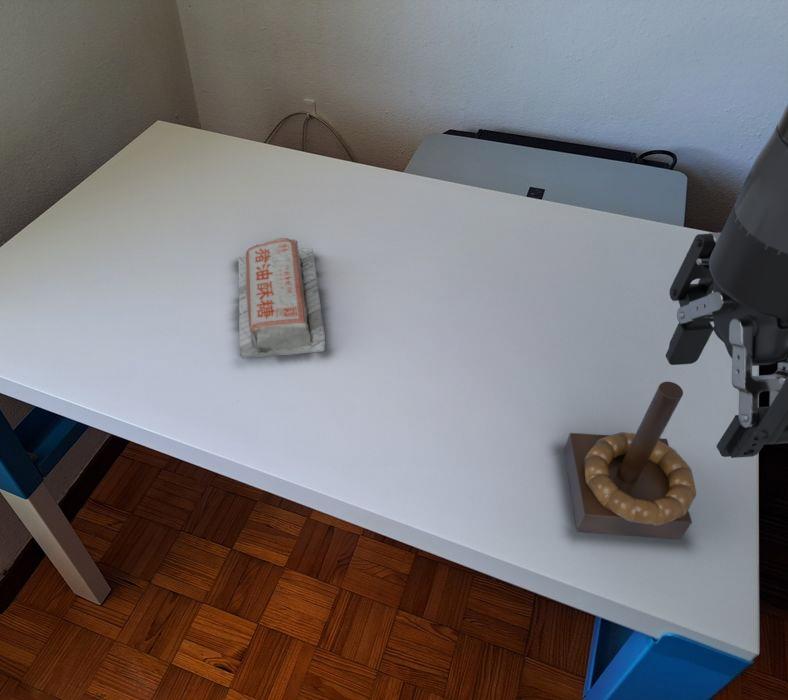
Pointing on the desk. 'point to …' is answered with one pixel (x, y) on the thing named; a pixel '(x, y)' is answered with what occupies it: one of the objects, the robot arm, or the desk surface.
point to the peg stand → (627, 474)
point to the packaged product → (279, 301)
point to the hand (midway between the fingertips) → (704, 403)
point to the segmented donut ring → (625, 504)
